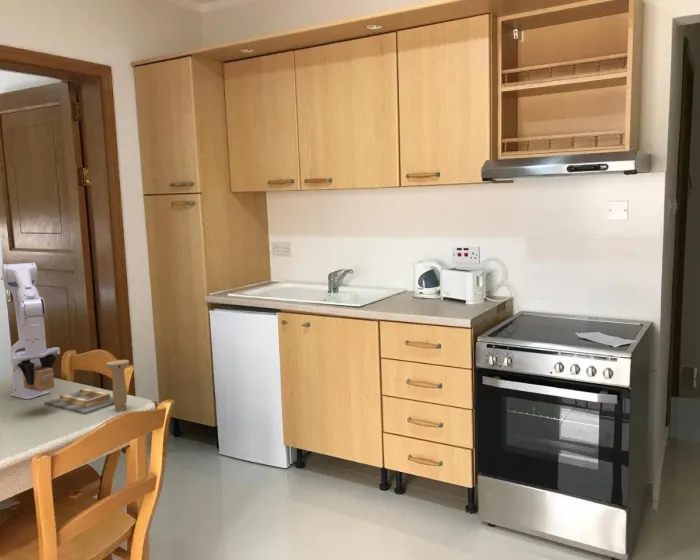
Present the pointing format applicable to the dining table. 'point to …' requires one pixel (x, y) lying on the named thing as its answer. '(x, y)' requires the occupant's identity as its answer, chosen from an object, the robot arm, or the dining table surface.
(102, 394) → the cradle
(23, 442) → the dining table surface
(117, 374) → the handle
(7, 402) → the dining table surface
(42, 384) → the cabinet block
